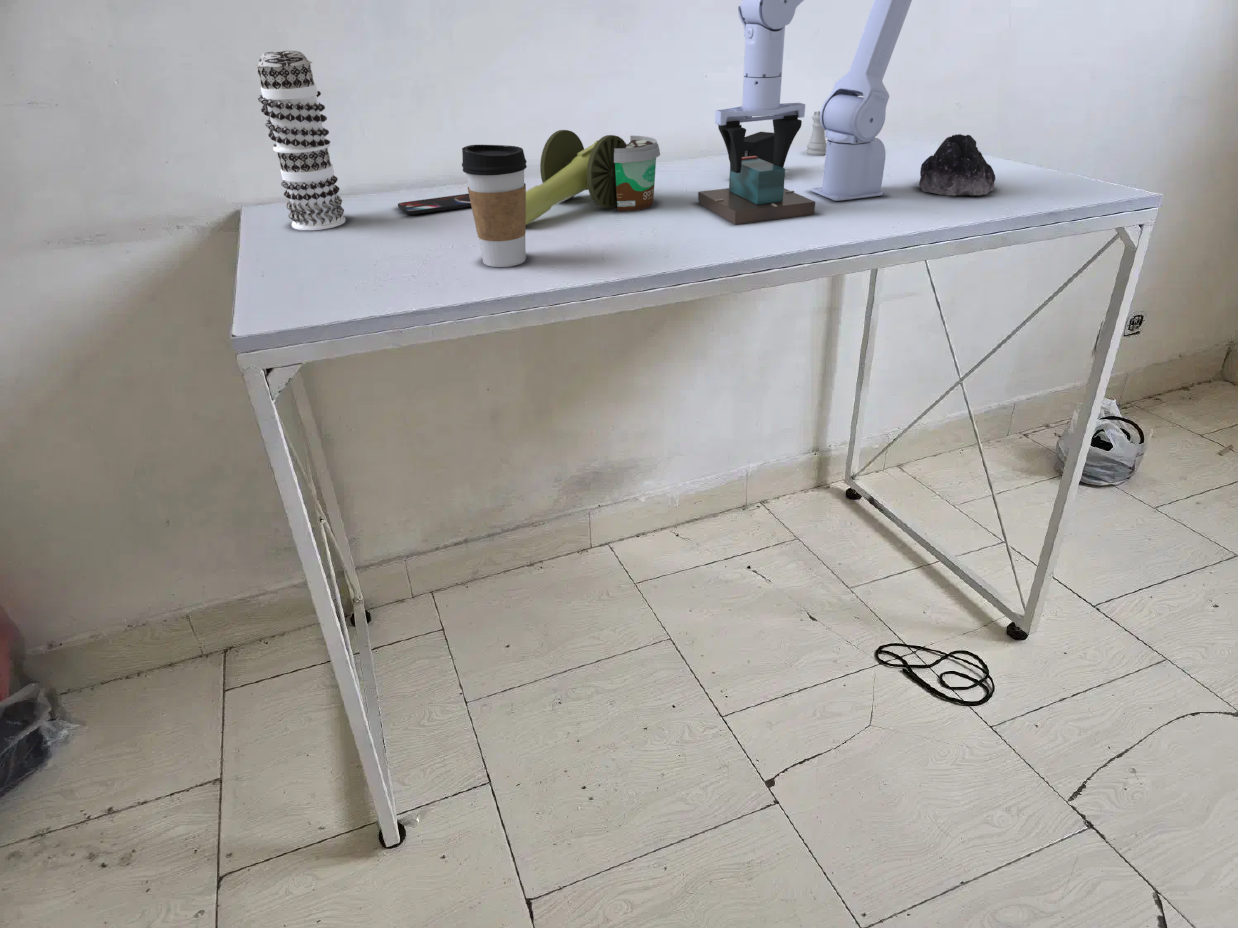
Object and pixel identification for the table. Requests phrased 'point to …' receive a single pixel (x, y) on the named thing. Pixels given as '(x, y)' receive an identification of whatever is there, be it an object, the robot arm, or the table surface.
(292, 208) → the white patterned cylinder
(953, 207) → the table surface
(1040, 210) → the table surface
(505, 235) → the coffee cup
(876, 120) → the robot arm
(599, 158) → the cannon
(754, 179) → the teal block red stripe
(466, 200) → the smartphone
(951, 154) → the crystal cluster
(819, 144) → the white chess piece
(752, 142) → the digital camera
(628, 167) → the food container
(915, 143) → the table surface
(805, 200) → the clock
